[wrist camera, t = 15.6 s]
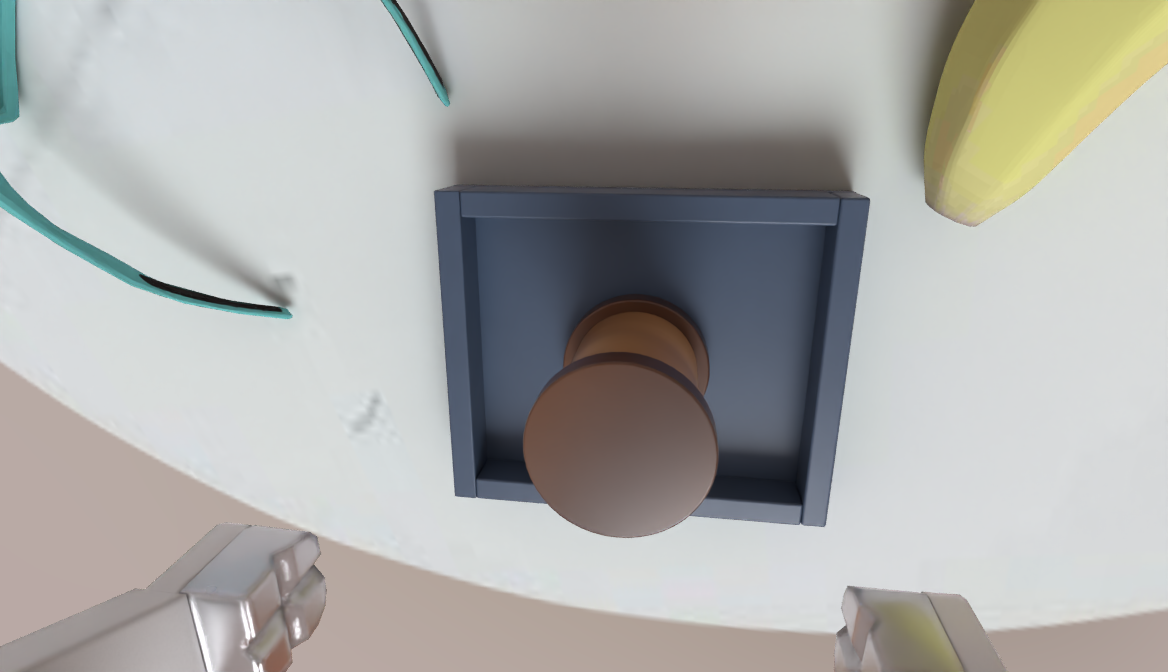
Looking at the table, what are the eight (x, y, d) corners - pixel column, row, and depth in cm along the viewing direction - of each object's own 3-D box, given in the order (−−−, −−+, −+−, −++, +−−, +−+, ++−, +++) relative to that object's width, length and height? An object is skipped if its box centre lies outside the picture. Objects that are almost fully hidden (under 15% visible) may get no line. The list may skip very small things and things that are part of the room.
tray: (471, 468, 25) (454, 496, 23) (455, 184, 21) (433, 190, 20) (814, 495, 23) (826, 528, 21) (853, 190, 20) (871, 197, 18)
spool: (566, 421, 23) (524, 529, 17) (567, 289, 21) (520, 356, 15) (704, 432, 22) (711, 547, 16) (714, 296, 21) (726, 368, 15)
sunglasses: (91, -328, 18) (-91, -464, 14) (501, 51, 21) (464, 44, 17) (-73, 75, 23) (-251, 75, 18) (284, 341, 26) (208, 399, 21)
